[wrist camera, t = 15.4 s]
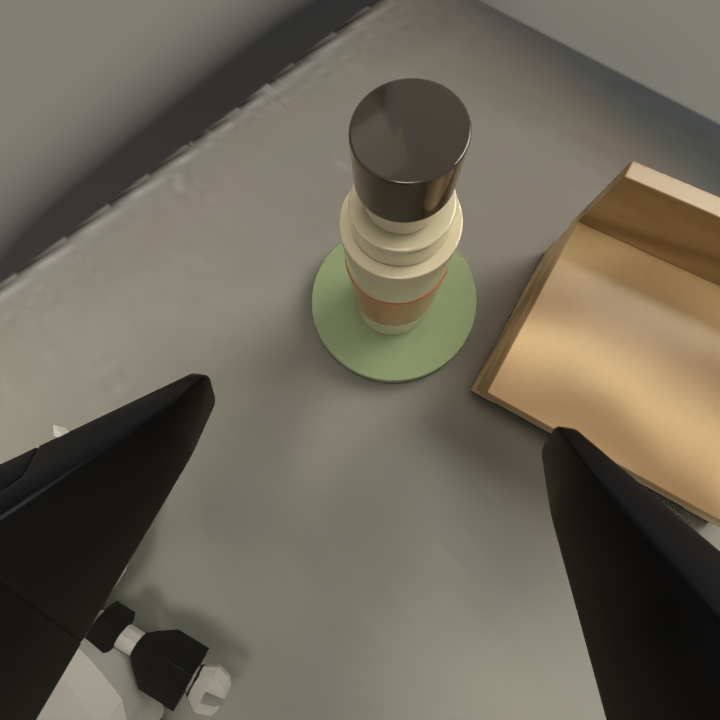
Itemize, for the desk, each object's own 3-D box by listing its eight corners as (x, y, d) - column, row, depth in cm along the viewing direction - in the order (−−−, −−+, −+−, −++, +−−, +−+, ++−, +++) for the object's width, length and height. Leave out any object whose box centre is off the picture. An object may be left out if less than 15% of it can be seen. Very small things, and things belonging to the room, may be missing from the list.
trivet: (342, 404, 18) (340, 404, 17) (295, 261, 20) (291, 253, 19) (497, 351, 18) (503, 348, 17) (438, 211, 20) (441, 201, 19)
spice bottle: (389, 351, 18) (402, 252, 7) (339, 296, 18) (280, 126, 8) (446, 302, 18) (546, 130, 7) (395, 249, 19) (415, 19, 8)
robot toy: (268, 642, 17) (114, 410, 19) (234, 729, 13) (35, 415, 14) (70, 798, 17) (-73, 546, 18) (-37, 945, 12) (-217, 597, 14)
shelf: (707, 530, 16) (918, 606, 10) (466, 396, 18) (513, 386, 12) (782, 355, 17) (1016, 321, 11) (548, 245, 19) (632, 159, 13)
